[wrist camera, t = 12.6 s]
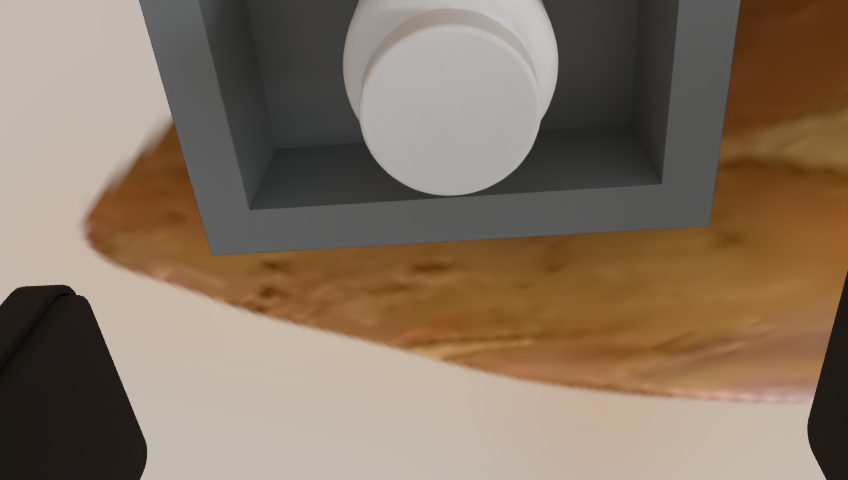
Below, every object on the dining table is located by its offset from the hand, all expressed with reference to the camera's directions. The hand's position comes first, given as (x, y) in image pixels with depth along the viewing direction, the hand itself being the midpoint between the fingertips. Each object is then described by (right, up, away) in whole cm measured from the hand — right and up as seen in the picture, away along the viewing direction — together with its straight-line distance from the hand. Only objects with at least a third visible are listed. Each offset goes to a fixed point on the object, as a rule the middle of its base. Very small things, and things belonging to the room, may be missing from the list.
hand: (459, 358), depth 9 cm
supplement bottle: (0, +9, +15) cm, 18 cm away
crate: (0, +10, +16) cm, 19 cm away
